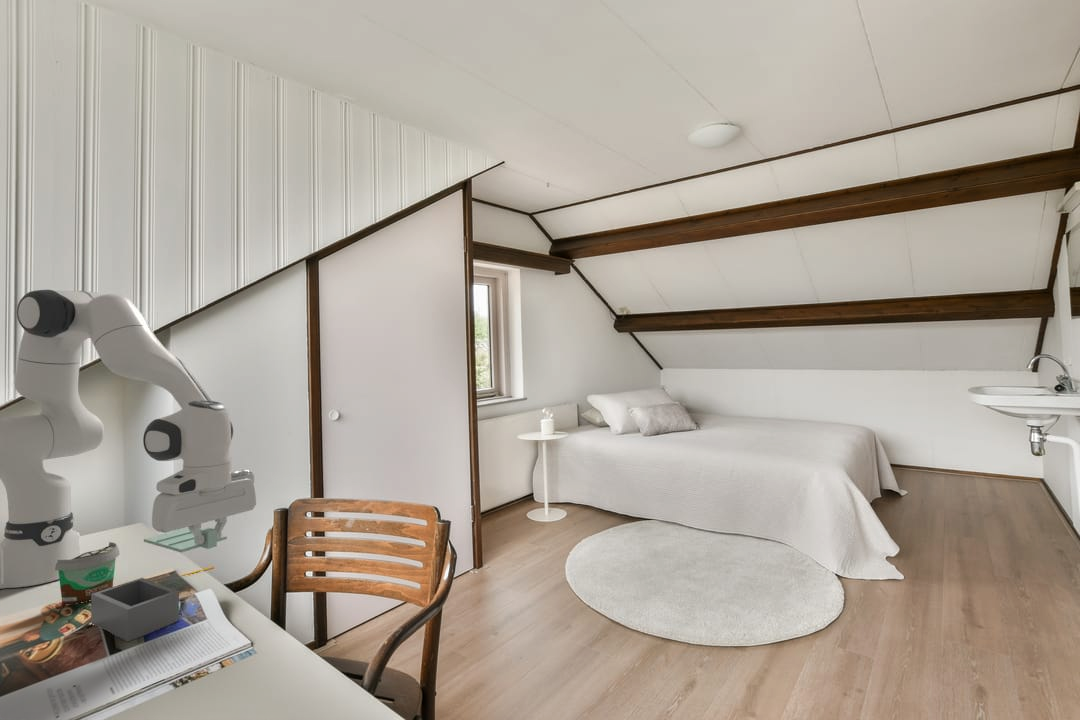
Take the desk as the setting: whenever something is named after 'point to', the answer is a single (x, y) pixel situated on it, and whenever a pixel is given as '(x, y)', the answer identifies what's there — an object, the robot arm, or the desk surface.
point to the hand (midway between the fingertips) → (208, 541)
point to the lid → (185, 539)
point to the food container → (87, 574)
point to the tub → (134, 608)
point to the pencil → (199, 571)
